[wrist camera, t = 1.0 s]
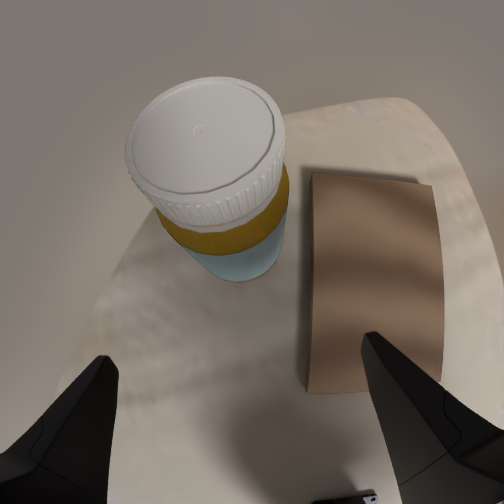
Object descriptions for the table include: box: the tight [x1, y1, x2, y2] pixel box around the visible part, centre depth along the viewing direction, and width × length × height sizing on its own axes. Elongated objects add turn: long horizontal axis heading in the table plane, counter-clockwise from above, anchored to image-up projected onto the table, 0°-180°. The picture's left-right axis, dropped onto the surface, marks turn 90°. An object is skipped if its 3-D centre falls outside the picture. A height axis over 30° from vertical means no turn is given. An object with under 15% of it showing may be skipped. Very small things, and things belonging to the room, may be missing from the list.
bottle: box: [125, 77, 289, 282], centre depth 17 cm, size 7×7×15 cm
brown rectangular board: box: [305, 173, 444, 394], centre depth 22 cm, size 18×12×2 cm, turn 177°
